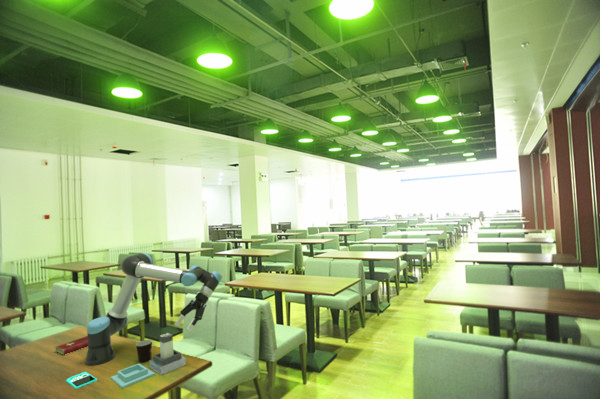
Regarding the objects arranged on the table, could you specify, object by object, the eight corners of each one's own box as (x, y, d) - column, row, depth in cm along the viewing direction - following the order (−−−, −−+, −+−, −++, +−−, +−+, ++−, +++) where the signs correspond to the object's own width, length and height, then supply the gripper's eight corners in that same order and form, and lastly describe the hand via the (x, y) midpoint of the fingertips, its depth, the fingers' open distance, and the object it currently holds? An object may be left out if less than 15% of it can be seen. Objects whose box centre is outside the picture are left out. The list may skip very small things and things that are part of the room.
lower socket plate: (110, 378, 178) (110, 372, 178) (141, 366, 189) (141, 360, 190) (122, 388, 167) (122, 381, 167) (154, 375, 179) (154, 368, 179)
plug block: (160, 359, 188) (159, 335, 188) (169, 356, 192) (168, 332, 192) (165, 361, 185) (163, 337, 185) (173, 358, 188) (172, 334, 188)
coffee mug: (146, 363, 193) (145, 346, 193) (133, 363, 194) (132, 345, 195) (159, 354, 204) (158, 338, 204) (146, 354, 206) (145, 337, 206)
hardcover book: (98, 343, 230) (98, 337, 230) (63, 356, 212) (63, 349, 212) (89, 340, 237) (89, 334, 237) (54, 353, 219) (54, 346, 219)
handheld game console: (86, 373, 187) (86, 370, 187) (98, 381, 177) (98, 378, 177) (65, 381, 179) (64, 378, 179) (76, 390, 169) (76, 387, 169)
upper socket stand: (149, 367, 188) (148, 355, 188) (173, 358, 198) (172, 347, 198) (161, 375, 178) (160, 362, 178) (185, 364, 188) (185, 352, 189)
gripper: (219, 301, 200) (198, 335, 189) (197, 295, 217) (176, 326, 206) (211, 294, 196) (189, 328, 185) (188, 289, 213) (167, 320, 202)
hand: (182, 327), depth 195 cm, fingers open, 13 cm apart
